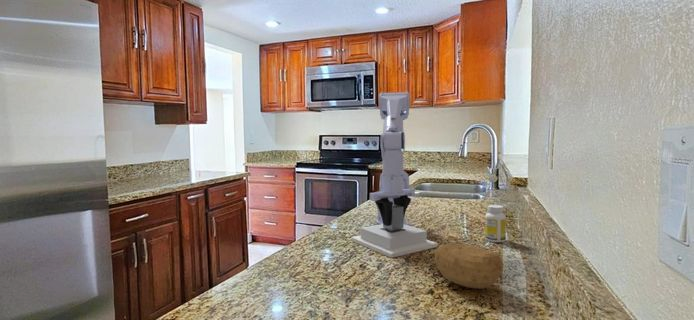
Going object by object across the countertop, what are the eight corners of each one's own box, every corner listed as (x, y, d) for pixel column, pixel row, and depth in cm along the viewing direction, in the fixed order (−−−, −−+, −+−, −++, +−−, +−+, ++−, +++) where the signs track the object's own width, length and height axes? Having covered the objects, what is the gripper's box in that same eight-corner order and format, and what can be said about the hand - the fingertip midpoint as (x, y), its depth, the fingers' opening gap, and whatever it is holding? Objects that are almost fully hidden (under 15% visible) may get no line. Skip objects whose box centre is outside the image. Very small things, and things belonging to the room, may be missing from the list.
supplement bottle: (502, 237, 107) (502, 204, 106) (508, 243, 101) (509, 208, 101) (482, 237, 107) (483, 204, 107) (488, 242, 102) (488, 208, 101)
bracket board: (351, 240, 105) (351, 226, 105) (394, 232, 114) (394, 219, 114) (391, 257, 90) (391, 242, 90) (437, 246, 99) (437, 232, 99)
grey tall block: (383, 234, 103) (382, 205, 102) (394, 231, 105) (394, 204, 104) (392, 237, 99) (392, 208, 99) (403, 235, 101) (403, 206, 101)
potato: (450, 269, 82) (450, 234, 82) (512, 289, 72) (513, 249, 71) (422, 281, 76) (422, 243, 75) (486, 304, 65) (486, 260, 65)
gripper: (381, 178, 94) (381, 230, 95) (422, 174, 101) (422, 223, 102) (364, 176, 100) (365, 225, 100) (405, 172, 107) (405, 218, 108)
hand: (392, 223), depth 102 cm, fingers closed on grey tall block, 4 cm apart
